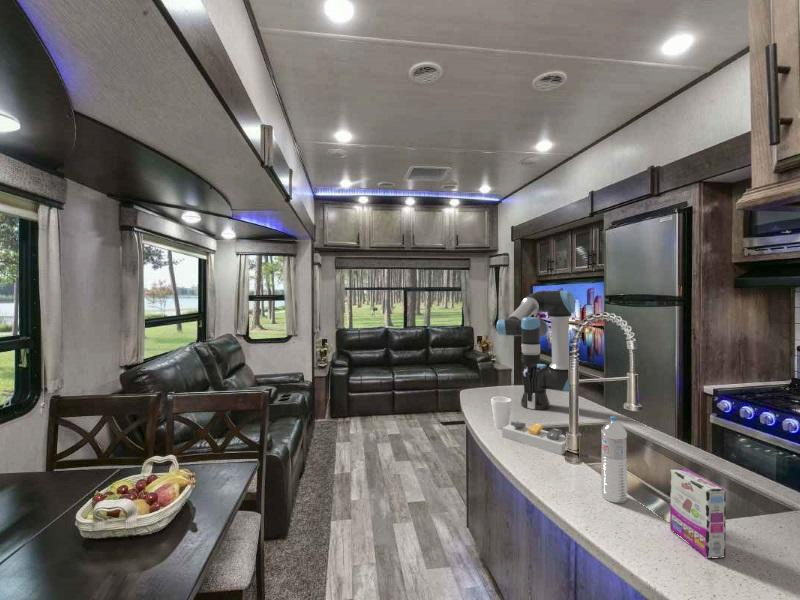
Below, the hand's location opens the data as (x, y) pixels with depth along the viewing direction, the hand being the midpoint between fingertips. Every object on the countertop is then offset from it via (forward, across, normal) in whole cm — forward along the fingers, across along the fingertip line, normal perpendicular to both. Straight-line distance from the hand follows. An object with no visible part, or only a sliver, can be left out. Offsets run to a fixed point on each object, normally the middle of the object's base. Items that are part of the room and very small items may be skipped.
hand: (531, 408), depth 158 cm
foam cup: (+14, -6, -18) cm, 24 cm away
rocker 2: (+8, +1, +10) cm, 13 cm away
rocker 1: (+8, 0, -6) cm, 10 cm away
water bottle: (+14, +26, +38) cm, 48 cm away
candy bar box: (+14, +34, +59) cm, 70 cm away
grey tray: (+14, +1, +6) cm, 15 cm away
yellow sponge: (+8, 0, +2) cm, 9 cm away
